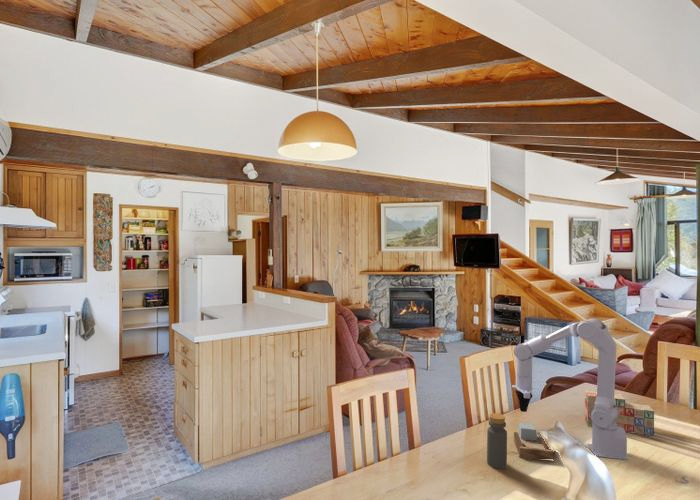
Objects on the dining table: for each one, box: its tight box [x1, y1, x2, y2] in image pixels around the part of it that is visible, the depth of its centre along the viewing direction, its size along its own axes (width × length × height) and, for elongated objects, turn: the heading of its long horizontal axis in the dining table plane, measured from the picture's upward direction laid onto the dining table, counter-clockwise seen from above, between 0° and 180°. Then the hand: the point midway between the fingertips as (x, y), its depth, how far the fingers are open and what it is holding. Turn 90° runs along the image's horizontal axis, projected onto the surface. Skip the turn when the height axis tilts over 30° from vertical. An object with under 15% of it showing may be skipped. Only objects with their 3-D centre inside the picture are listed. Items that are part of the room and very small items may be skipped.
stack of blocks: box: [584, 390, 655, 436], centre depth 158 cm, size 21×6×12 cm, turn 68°
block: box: [518, 422, 537, 441], centre depth 150 cm, size 5×5×4 cm
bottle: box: [486, 412, 508, 470], centre depth 130 cm, size 6×6×15 cm
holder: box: [513, 431, 556, 460], centre depth 139 cm, size 10×12×3 cm
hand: (523, 410), depth 157 cm, fingers closed
